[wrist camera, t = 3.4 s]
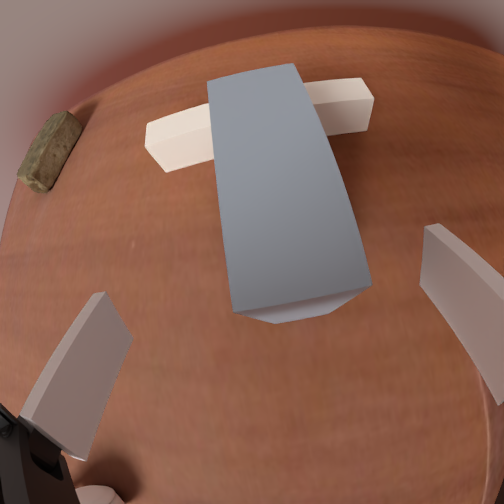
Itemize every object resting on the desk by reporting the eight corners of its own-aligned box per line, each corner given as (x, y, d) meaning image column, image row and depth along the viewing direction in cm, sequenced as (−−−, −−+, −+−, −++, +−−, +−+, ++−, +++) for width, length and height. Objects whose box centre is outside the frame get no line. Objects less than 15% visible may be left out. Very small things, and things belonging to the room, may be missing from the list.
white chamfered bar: (356, 109, 24) (360, 77, 20) (366, 130, 23) (374, 98, 19) (166, 149, 27) (147, 123, 22) (165, 172, 26) (144, 147, 21)
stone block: (88, 126, 32) (69, 106, 27) (51, 197, 29) (26, 181, 24) (67, 129, 33) (49, 112, 28) (33, 194, 30) (11, 180, 26)
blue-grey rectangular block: (254, 202, 23) (206, 81, 11) (301, 192, 23) (293, 63, 10) (275, 323, 20) (233, 312, 8) (328, 313, 20) (372, 284, 7)
